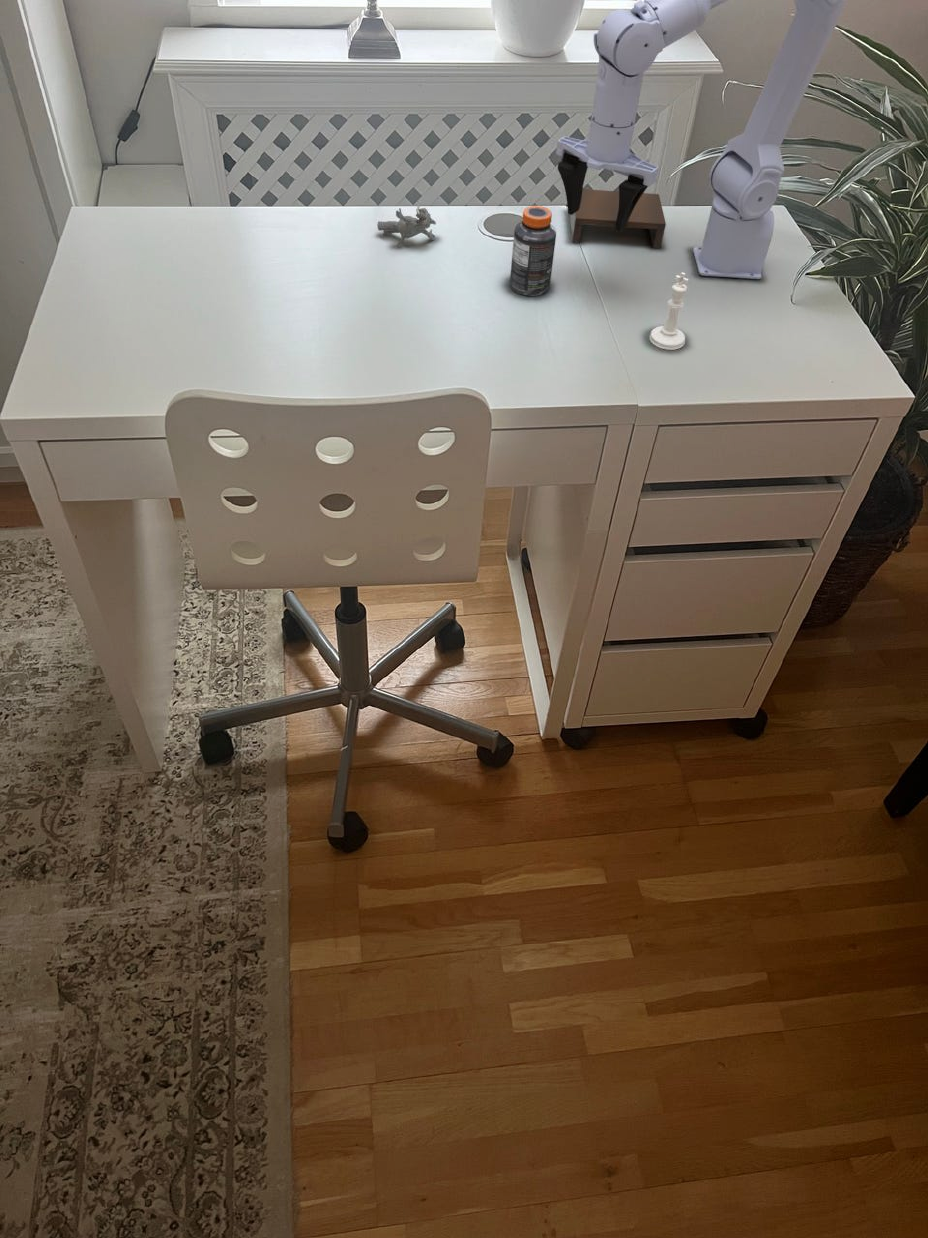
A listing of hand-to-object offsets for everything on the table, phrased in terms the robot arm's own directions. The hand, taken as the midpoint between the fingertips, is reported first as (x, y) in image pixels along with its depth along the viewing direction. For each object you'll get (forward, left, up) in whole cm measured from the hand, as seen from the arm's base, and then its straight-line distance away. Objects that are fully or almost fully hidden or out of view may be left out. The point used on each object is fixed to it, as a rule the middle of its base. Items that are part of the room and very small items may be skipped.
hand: (596, 220), depth 136 cm
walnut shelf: (-5, -17, -10) cm, 21 cm away
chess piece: (-10, +14, -10) cm, 20 cm away
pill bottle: (+9, +2, -10) cm, 13 cm away
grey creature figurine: (+28, -8, -10) cm, 30 cm away
